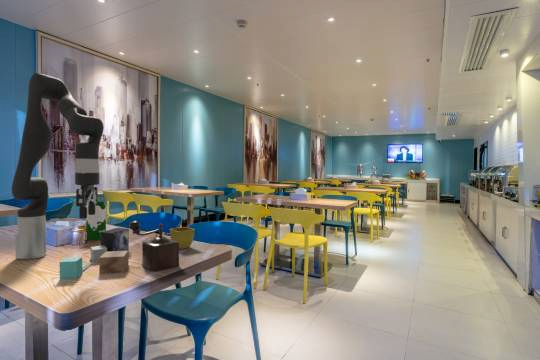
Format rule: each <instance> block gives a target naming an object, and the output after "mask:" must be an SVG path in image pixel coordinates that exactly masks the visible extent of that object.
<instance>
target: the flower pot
mask: <svg viewBox="0 0 540 360" xmlns="http://www.w3.org/2000/svg"><path fill="white" fill-rule="evenodd" d="M195 231H196V230H195V228H191V227H187V226H182V227H174V228H169V234H170V239H171V240H173V241H176V242H179V250H182V249H188V248H190V247H191V246H192V244H193V242H194V237H195Z"/></svg>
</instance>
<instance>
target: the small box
mask: <svg viewBox="0 0 540 360" xmlns="http://www.w3.org/2000/svg"><path fill="white" fill-rule="evenodd" d="M129 233H130V228H124V227H115V228H110V229H108V230H107V229H106V231H102V232H101V240H100V246H102V245H104V246H105V247H106V248H107V252H109V251H129V249H130V248H129V247H130V246H129V245H130V244H129V242H130V241H129V240H130V234H129Z"/></svg>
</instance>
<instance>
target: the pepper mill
mask: <svg viewBox="0 0 540 360" xmlns="http://www.w3.org/2000/svg"><path fill="white" fill-rule="evenodd" d="M128 227H129V229H131V231H132V234H133V235H138V236H148V235H151V234H155V233H157V232H159V235H155V237H154V238H153V239H150V240H147V241H146V240H145V241H142V244H141V245H142V246H141V248H142V250H141V251H142V256H141V257H142V261H141V262H142V263H141V266H143V268H145V269H147V271H151V272H153V273H154V272H155V273H156V272H160V271H165V270H168V269H173V268H176V267H179V266H180V249H179V242H176V241H173V240H171V238H167V237H165V236H163V224H162V223H159V224H158V228H157V229H155V230H154V229H153V230H151V231H147V232H141V230H140V227H141V223H140V222H139V221H137V220H133V221H131V222H130V223H129V225H128Z"/></svg>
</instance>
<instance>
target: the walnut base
mask: <svg viewBox="0 0 540 360" xmlns="http://www.w3.org/2000/svg"><path fill="white" fill-rule="evenodd" d="M129 253H130V252H129V251H109V252H105V253H104V254H103V255H102V256H101V257H99V264H98V265H99V267H98V268H99V269H98V270H99V271H98V272H99V273H98V274H100V275H104V274H105V273H107V274H121V273H125V271H126V270H127V269H128V268H129V265H130V264H129V259H130V258H129ZM105 275H106V274H105Z"/></svg>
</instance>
